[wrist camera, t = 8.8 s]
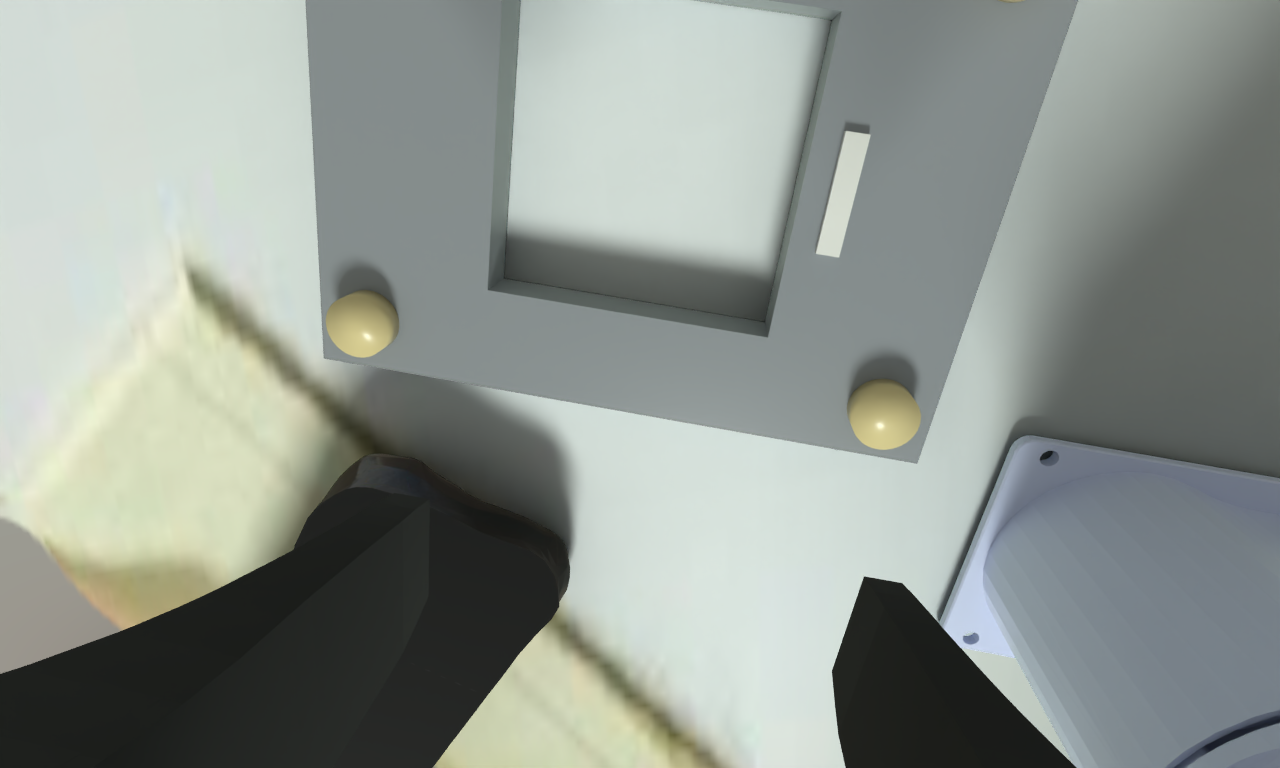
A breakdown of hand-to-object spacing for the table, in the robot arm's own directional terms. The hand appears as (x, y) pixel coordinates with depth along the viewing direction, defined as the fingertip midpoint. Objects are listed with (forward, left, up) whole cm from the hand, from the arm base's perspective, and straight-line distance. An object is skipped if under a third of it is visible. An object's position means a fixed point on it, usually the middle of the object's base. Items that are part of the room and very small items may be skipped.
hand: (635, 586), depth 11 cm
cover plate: (+2, -6, -10) cm, 12 cm away
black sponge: (+9, +12, -11) cm, 19 cm away
